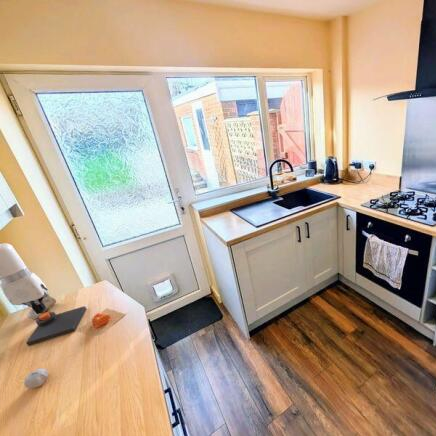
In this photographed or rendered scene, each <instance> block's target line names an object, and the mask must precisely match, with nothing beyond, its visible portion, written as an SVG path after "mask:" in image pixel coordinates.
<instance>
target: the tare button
mask: <svg viewBox="0 0 436 436" xmlns="http://www.w3.org/2000/svg"><path fill="white" fill-rule="evenodd" d="M49 317H50V314H49V313H48V311H45V312H43V313H42V314H41V315H40V316H39V317H38V318H40V320H41V321H44V320H46V319H48V318H49Z"/></svg>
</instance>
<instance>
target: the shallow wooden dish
mask: <svg viewBox="0 0 436 436" xmlns="http://www.w3.org/2000/svg"><path fill="white" fill-rule="evenodd" d="M125 315H126V313H124V312H119V311H117V310H114V309H110V308H107V307H106V308H105V309H103V310H102V311H101V312H97V313H96V314H95V315H94V316H93V317H92V319H90V320H89V321H87V322H86V323H85V324H84V325H82V326H81V327H80V328H79V329H77V331H78V332H80V333H82V334H86V335H87V336H90V337H94V338H97V337H99V336H101V335H102V334H104V333H105V332H106V331H107V330H108V329H110V328H111V327H112V326H113V325H114V324H116V323H118V321H120V320H121V319H122V318H124V316H125Z"/></svg>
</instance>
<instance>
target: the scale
mask: <svg viewBox="0 0 436 436" xmlns="http://www.w3.org/2000/svg"><path fill="white" fill-rule="evenodd" d="M86 311H87V307H86V306H80V307H77V308H73V309H70V310H67V311H63V312H60V313H57V314H56V312H54V311H50V313H49V314H50V317H49V318H48V319H46V320H44V321H41V320H40V318H39V317H38V318H36V321H35V324H36V325H37V326H36V328H35V329H34V331H33V332H32V333H31V334H30V336H29V338H28V339H27V340H26V341H25V344H26V345H27V346H28V347H30V346H33V345H36V344H39V343H42V342H46V341H49V340H52V339H55V338H58V337H61V336H65V335H68V334H71V333H74V332H76V331H77V330H78V329H77V328H78V327H79V325H80V323H81V321H82V319H83V317H84V315H85V314H86Z"/></svg>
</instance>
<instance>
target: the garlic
mask: <svg viewBox="0 0 436 436" xmlns="http://www.w3.org/2000/svg"><path fill="white" fill-rule="evenodd" d="M49 376H50V374H49V373H48V370H47V369H46V368H45V367H42V368H38V369H34V370H33V371H31V372H30V373H28V374H27V375H26V377H25V378H24V381H23V384H24V387H26V388H27V389H35V388H40V387H41V386H43V385H44V384H45V382H47V380H48V378H49Z"/></svg>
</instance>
